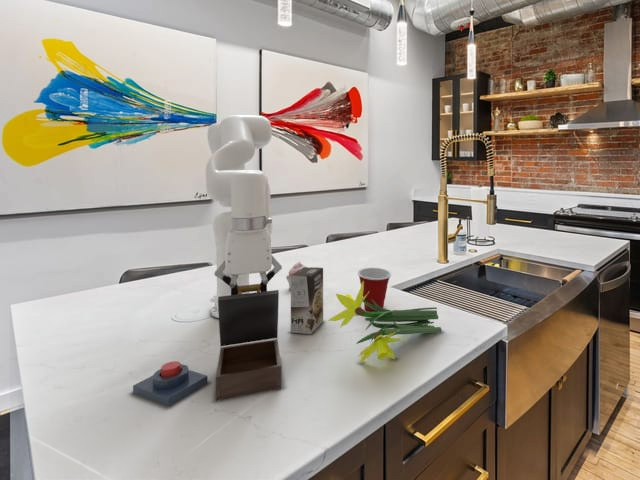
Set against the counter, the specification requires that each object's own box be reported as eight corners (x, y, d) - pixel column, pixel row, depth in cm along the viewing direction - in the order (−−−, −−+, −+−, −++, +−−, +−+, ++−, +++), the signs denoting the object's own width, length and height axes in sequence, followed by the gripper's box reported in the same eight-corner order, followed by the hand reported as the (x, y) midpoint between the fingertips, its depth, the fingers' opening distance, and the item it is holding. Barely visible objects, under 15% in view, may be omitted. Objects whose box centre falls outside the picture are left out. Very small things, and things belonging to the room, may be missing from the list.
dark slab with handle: (278, 293, 92) (277, 276, 96) (217, 300, 87) (219, 282, 92) (277, 338, 98) (276, 320, 102) (220, 346, 93) (221, 327, 98)
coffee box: (311, 334, 111) (311, 276, 111) (289, 332, 112) (289, 274, 112) (324, 321, 120) (324, 267, 120) (304, 319, 121) (303, 266, 121)
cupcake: (308, 293, 145) (308, 265, 145) (282, 293, 145) (282, 265, 145) (314, 284, 154) (314, 258, 154) (290, 284, 155) (290, 258, 154)
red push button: (157, 375, 85) (157, 367, 85) (173, 367, 88) (173, 359, 88) (168, 379, 83) (168, 371, 83) (184, 371, 86) (184, 363, 86)
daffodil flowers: (464, 344, 107) (370, 355, 82) (423, 360, 114) (324, 374, 89) (445, 282, 116) (355, 275, 91) (408, 300, 123) (314, 297, 98)
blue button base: (132, 393, 84) (132, 376, 84) (173, 372, 92) (173, 357, 92) (168, 407, 79) (168, 389, 79) (207, 383, 87) (207, 367, 87)
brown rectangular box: (281, 388, 85) (281, 365, 85) (215, 401, 81) (215, 377, 81) (277, 358, 98) (277, 338, 98) (220, 368, 94) (220, 347, 94)
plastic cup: (378, 318, 122) (378, 278, 122) (350, 311, 128) (350, 273, 128) (398, 307, 131) (397, 270, 131) (371, 300, 137) (370, 265, 137)
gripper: (285, 219, 101) (285, 292, 101) (210, 224, 95) (210, 301, 95) (287, 224, 94) (288, 302, 94) (206, 229, 88) (207, 312, 88)
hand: (249, 300), depth 95 cm, fingers closed on dark slab with handle, 5 cm apart
